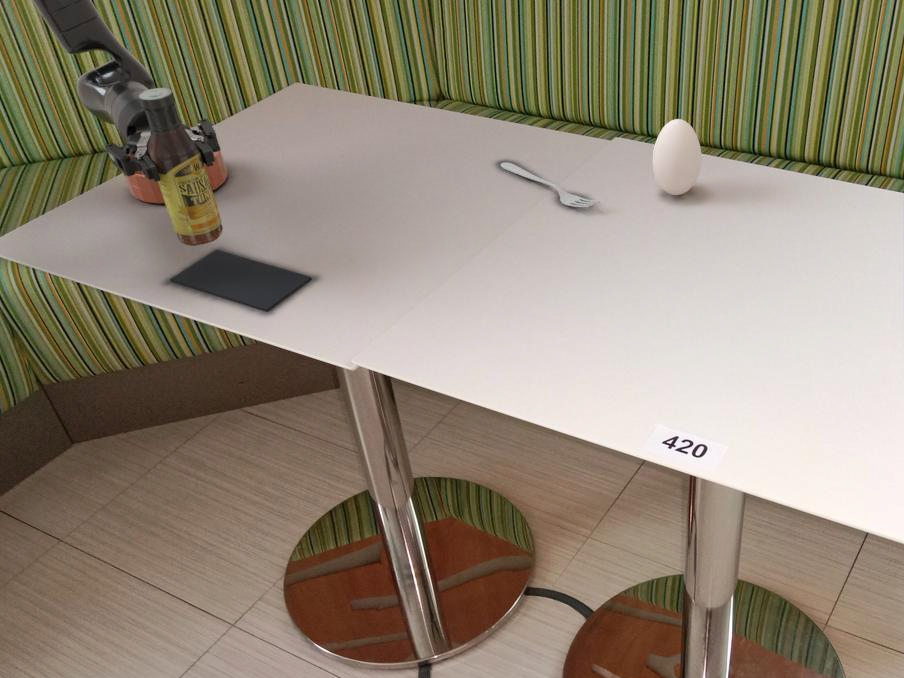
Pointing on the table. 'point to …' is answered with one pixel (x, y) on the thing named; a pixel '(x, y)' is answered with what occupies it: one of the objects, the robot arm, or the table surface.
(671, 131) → the egg
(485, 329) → the table surface
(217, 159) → the bowl
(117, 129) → the robot arm
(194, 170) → the sauce bottle
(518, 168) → the fork
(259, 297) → the mat
